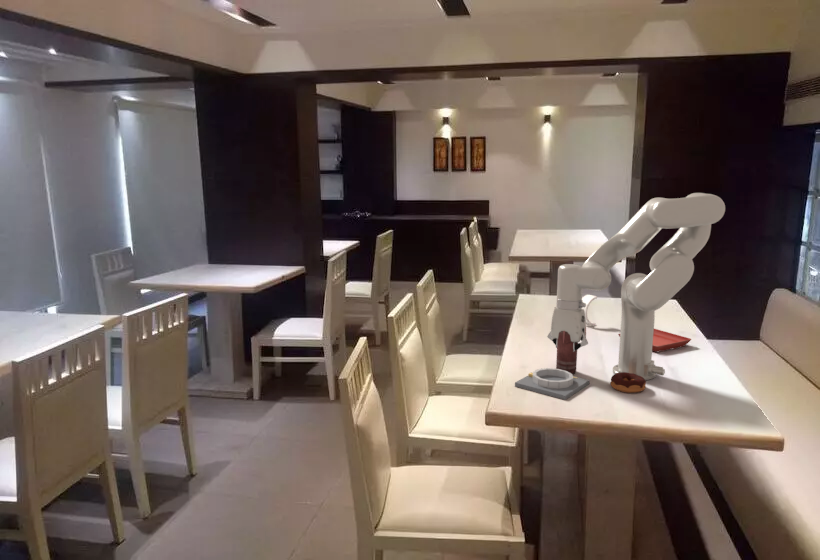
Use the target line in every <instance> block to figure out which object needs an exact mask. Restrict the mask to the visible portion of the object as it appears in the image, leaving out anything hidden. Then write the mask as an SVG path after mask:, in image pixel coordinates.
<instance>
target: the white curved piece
mask: <svg viewBox="0 0 820 560" xmlns="http://www.w3.org/2000/svg"><path fill="white" fill-rule="evenodd" d="M597 298H598V296H596V295H592V294H585V295H583V296H582V300H583V301H582V302H583V303H586V307H583V308H581V309H584V312H585V318H586V328H588V327H593V326H596V325H597V324H596V323H595V322H592V321H590V320H589V318H588V309H589V306H590V304H591V303H592V302H593V301H594V300H597Z"/></svg>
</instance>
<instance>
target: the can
mask: <svg viewBox="0 0 820 560" xmlns="http://www.w3.org/2000/svg"><path fill="white" fill-rule="evenodd" d="M575 345H577V342H575ZM555 363H556V364H555V365H556V366H555V369H561V370H565V371H568V372H569V373H571V374H572V375H575V373H576V372H577V363H578V350H576V351H574V352H573V342H572V341H571V338H570V335H569V334H568V332H565V331H561V332H559V336H558V340H557V348H556V361H555Z"/></svg>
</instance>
